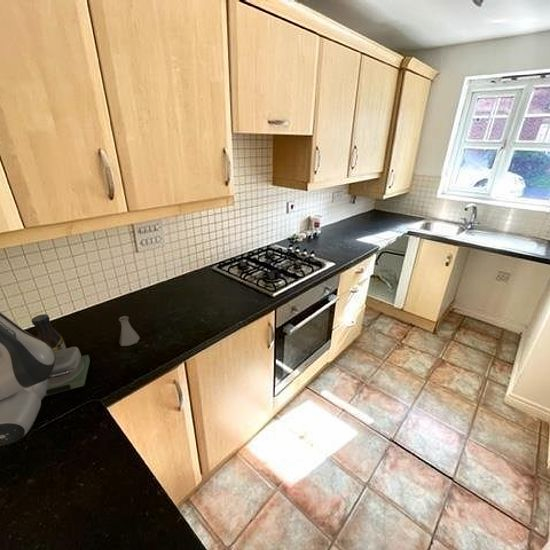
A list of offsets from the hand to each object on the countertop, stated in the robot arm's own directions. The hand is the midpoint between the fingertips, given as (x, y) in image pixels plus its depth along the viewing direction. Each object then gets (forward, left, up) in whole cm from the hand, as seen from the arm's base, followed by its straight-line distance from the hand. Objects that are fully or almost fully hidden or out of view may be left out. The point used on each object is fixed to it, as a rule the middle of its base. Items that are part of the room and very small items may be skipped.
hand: (42, 350), depth 85 cm
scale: (0, +6, -16) cm, 17 cm away
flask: (+19, +19, -16) cm, 31 cm away
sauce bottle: (0, +6, -13) cm, 14 cm away
